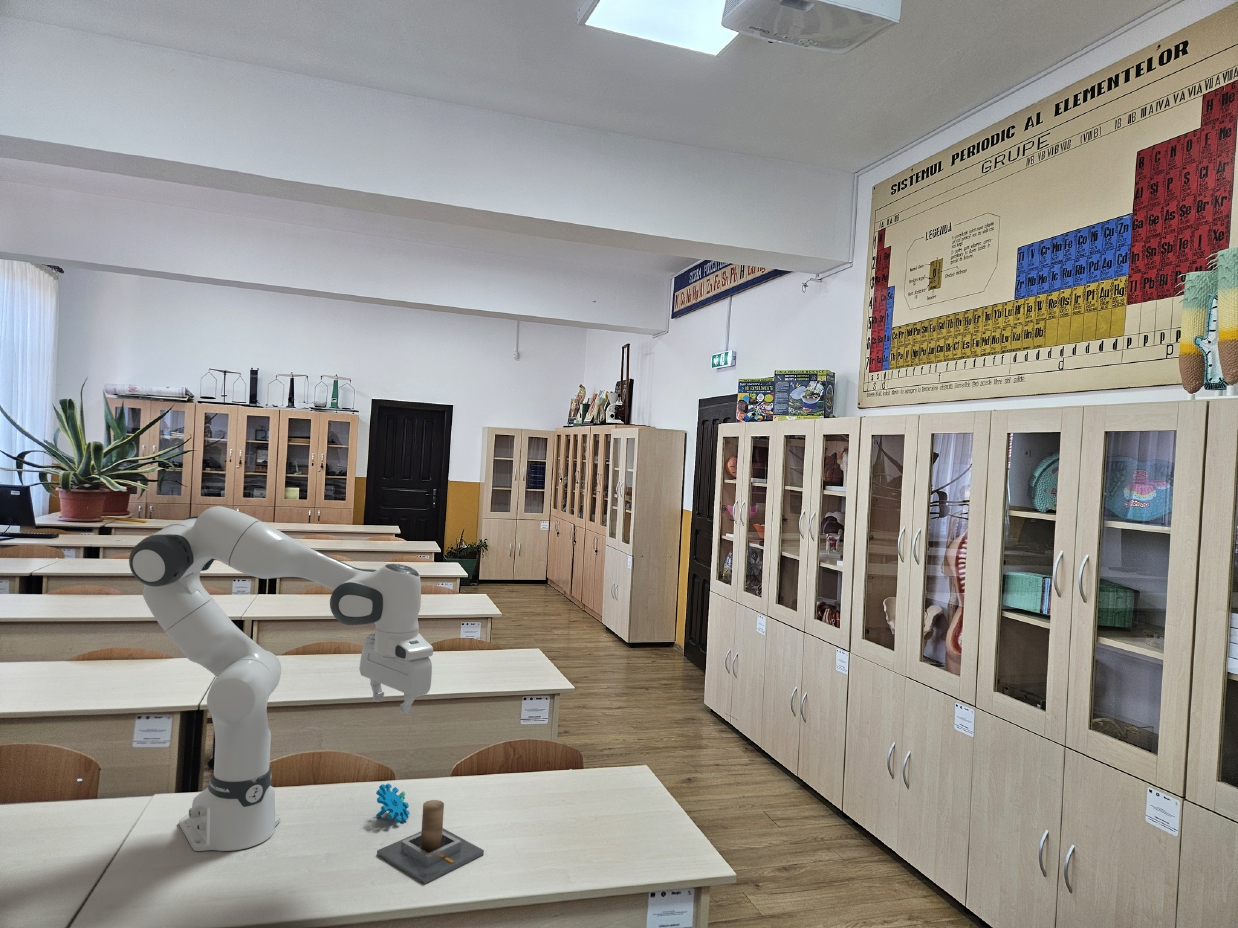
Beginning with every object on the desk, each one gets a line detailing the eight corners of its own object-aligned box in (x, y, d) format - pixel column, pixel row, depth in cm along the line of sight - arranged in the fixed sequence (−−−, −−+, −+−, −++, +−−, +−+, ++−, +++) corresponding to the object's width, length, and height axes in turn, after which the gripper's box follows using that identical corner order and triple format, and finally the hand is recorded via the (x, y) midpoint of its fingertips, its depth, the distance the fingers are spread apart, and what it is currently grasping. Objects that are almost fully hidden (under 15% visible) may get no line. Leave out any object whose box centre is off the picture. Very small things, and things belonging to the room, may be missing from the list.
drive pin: (416, 850, 168) (418, 804, 168) (432, 842, 171) (435, 797, 171) (429, 857, 165) (431, 811, 165) (445, 849, 169) (448, 804, 169)
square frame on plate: (376, 854, 167) (377, 840, 167) (436, 828, 180) (437, 815, 180) (424, 884, 157) (425, 869, 157) (483, 854, 170) (484, 840, 170)
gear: (398, 824, 177) (373, 788, 179) (379, 841, 177) (355, 804, 180) (419, 810, 188) (396, 775, 190) (401, 825, 188) (378, 790, 190)
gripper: (354, 633, 169) (350, 696, 169) (413, 654, 156) (408, 722, 156) (379, 629, 174) (374, 691, 174) (438, 649, 161) (433, 715, 161)
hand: (391, 706), depth 165 cm, fingers open, 8 cm apart
